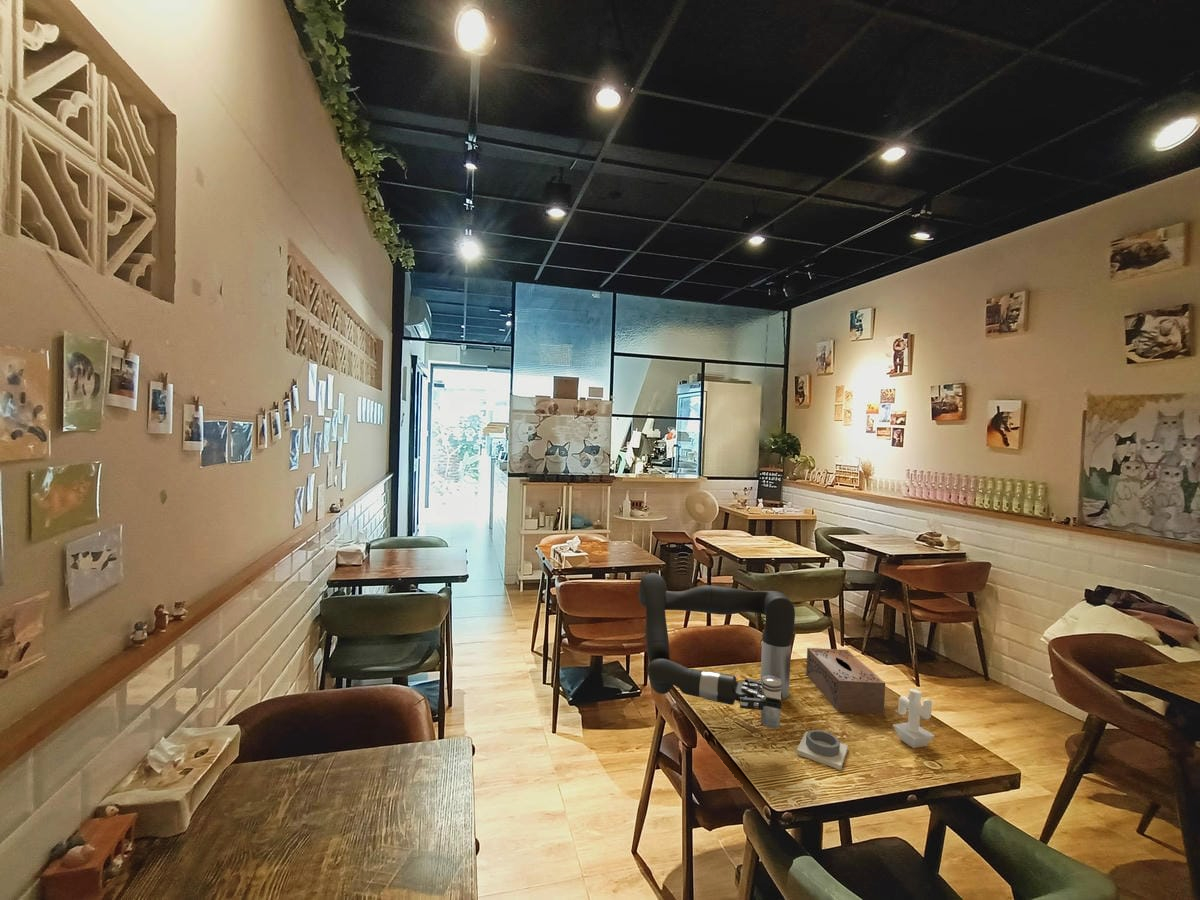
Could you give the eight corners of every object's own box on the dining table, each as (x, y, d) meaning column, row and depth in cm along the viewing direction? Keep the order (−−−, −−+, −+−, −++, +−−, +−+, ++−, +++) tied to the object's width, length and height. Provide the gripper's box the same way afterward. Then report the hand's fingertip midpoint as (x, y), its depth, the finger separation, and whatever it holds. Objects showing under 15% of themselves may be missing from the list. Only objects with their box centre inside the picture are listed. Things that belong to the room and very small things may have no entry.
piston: (763, 716, 143) (765, 673, 143) (782, 722, 140) (784, 678, 140) (758, 724, 139) (759, 680, 138) (777, 730, 136) (778, 685, 136)
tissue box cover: (806, 675, 187) (807, 647, 187) (845, 677, 187) (847, 649, 187) (837, 712, 162) (839, 680, 162) (883, 714, 161) (885, 683, 161)
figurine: (908, 732, 151) (910, 681, 151) (937, 750, 142) (940, 697, 142) (888, 735, 149) (891, 683, 149) (917, 754, 140) (920, 700, 140)
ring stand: (805, 735, 147) (806, 722, 147) (847, 749, 141) (848, 736, 141) (796, 754, 138) (796, 740, 138) (840, 770, 132) (841, 755, 132)
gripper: (720, 689, 151) (782, 701, 145) (713, 712, 138) (780, 727, 132) (721, 664, 151) (783, 675, 145) (714, 684, 138) (781, 697, 131)
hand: (781, 699), depth 138 cm, fingers closed on piston, 5 cm apart
